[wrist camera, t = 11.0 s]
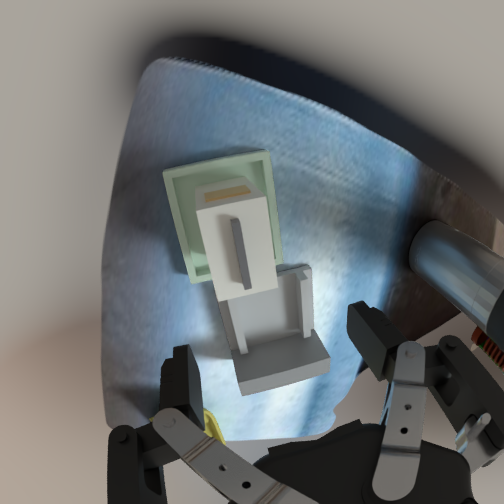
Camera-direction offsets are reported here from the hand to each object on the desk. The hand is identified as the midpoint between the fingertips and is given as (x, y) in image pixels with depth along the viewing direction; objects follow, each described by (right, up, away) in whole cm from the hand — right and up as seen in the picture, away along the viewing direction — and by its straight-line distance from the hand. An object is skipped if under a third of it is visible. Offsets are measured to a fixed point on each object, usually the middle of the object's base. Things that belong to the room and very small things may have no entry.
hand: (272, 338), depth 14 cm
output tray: (-4, +8, +18) cm, 20 cm away
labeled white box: (-4, +8, +17) cm, 19 cm away
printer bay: (+1, -4, +24) cm, 24 cm away
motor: (+60, -16, +43) cm, 76 cm away
